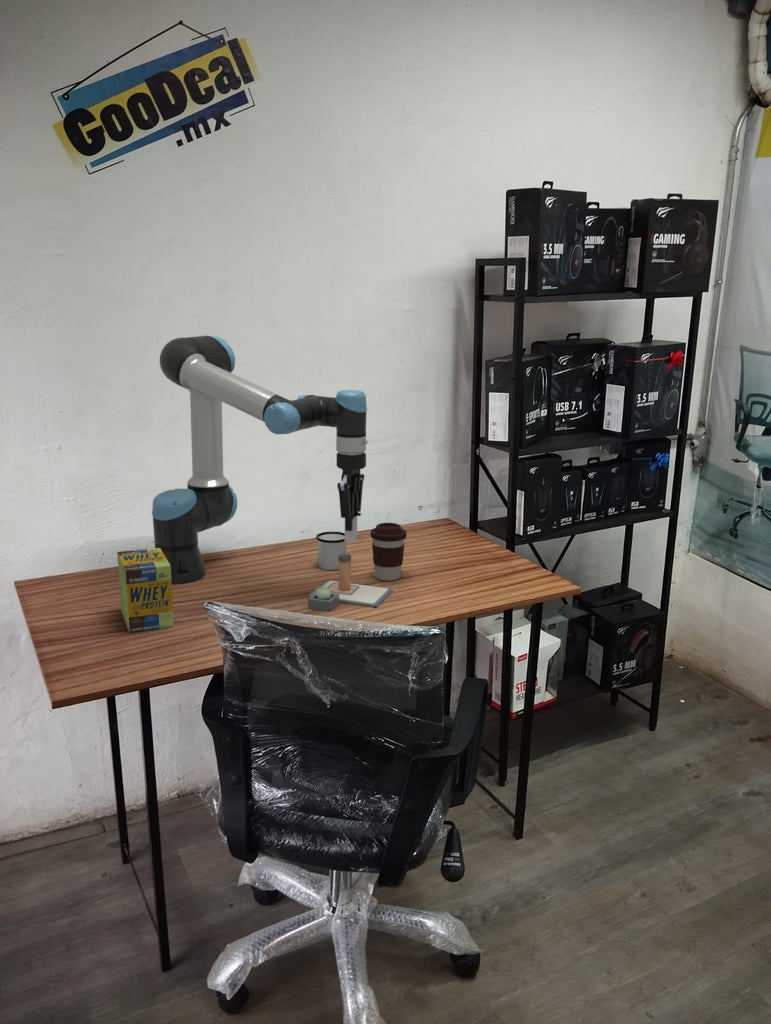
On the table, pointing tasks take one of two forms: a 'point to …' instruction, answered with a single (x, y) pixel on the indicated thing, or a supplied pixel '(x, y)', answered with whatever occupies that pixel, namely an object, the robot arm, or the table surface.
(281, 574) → the table surface
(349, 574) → the marker
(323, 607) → the button housing
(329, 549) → the mug
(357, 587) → the picture board
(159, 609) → the protein box
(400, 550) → the coffee cup
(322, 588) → the button
